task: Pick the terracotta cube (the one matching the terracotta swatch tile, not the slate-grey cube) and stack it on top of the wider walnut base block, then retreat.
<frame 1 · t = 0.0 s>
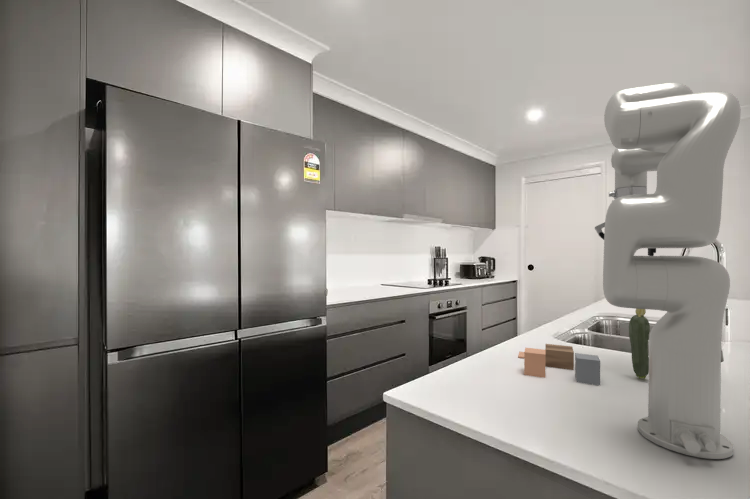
hand: (629, 255, 104), 31 cm above the counter, fingers open, 9 cm apart
terracotta cube: (534, 373, 97), on the counter
slate cube: (587, 380, 92), on the counter
swatch tile: (529, 356, 112), on the counter
vegetable: (638, 379, 93), on the counter
base block: (558, 365, 105), on the counter
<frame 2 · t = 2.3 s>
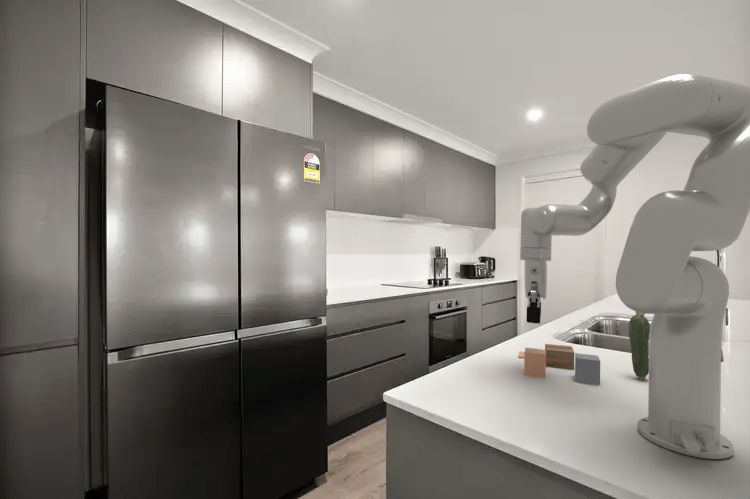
hand: (533, 319, 98), 14 cm above the counter, fingers open, 9 cm apart
nothing on the counter moved.
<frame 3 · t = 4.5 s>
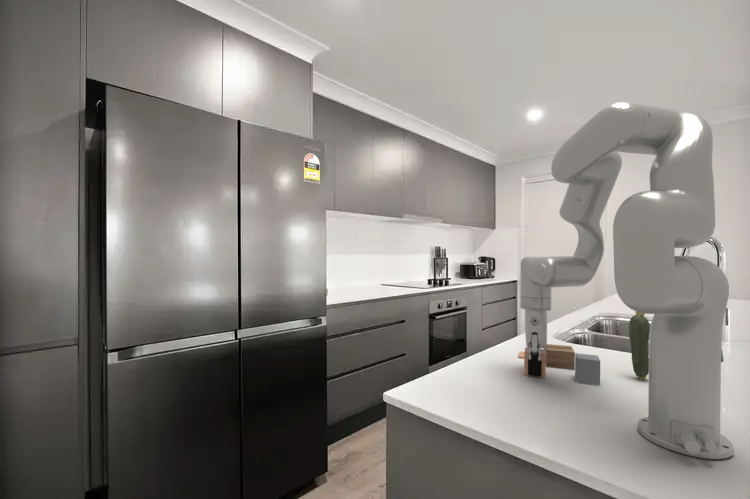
hand: (534, 371, 97), 0 cm above the counter, fingers closed on terracotta cube, 5 cm apart
terracotta cube: (534, 373, 97), on the counter, touching gripper
everything else where it was.
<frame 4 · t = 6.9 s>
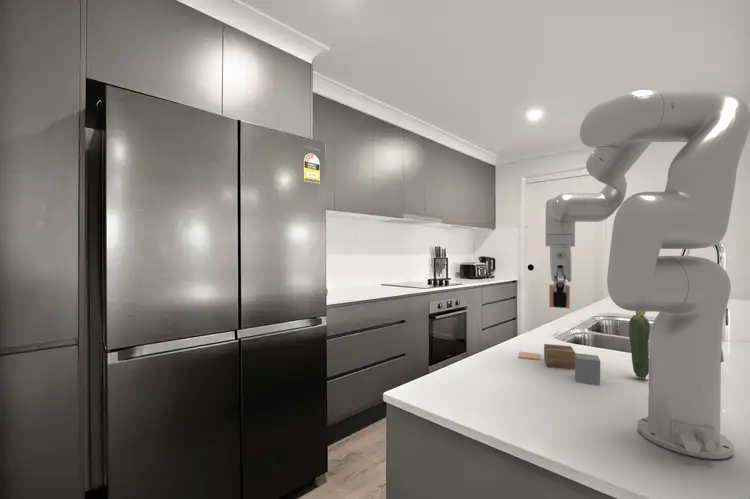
hand: (559, 304, 105), 17 cm above the counter, fingers closed on terracotta cube, 5 cm apart
terracotta cube: (559, 306, 105), point 17 cm above the counter, touching gripper
everything else where it was.
when the fingers open (7 cm above the counter, at t = 9.5 s): terracotta cube drops 1 cm, resting on base block.
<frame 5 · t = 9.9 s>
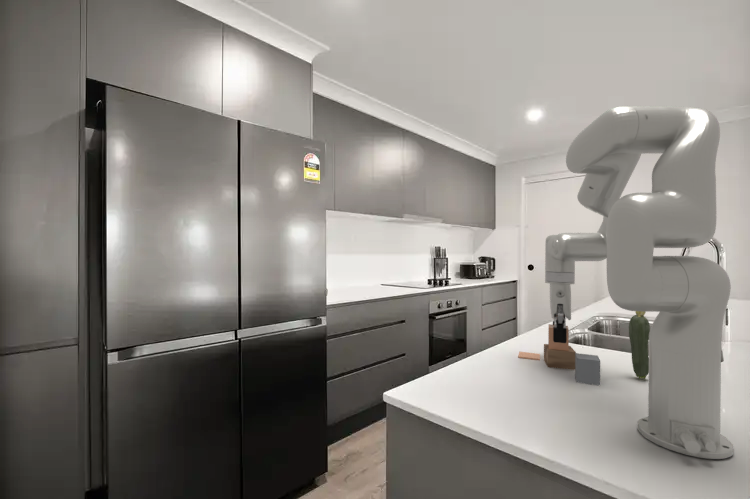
hand: (559, 338, 105), 7 cm above the counter, fingers open, 9 cm apart
terracotta cube: (558, 347, 105), point 5 cm above the counter, touching base block
base block: (559, 365, 105), on the counter, touching terracotta cube
everything else where it was.
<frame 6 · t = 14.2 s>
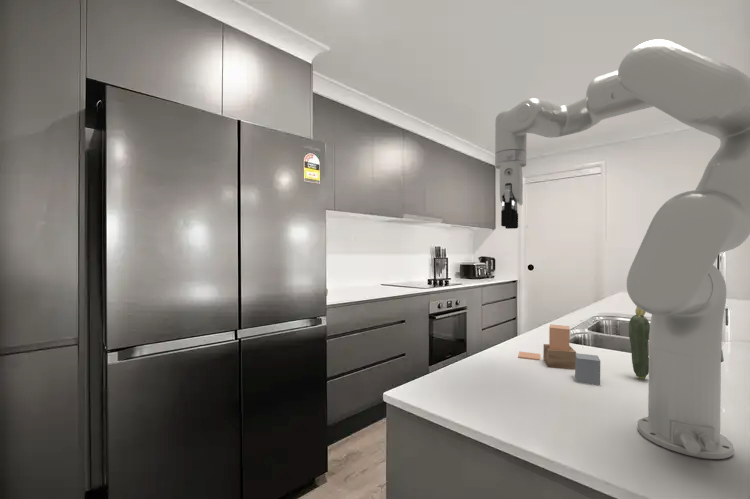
hand: (510, 227, 94), 38 cm above the counter, fingers open, 9 cm apart
nothing on the counter moved.
at the end: terracotta cube 0.0 cm off-centre on the base block, point 5.0 cm above the base block's base; terracotta cube tilted 0°; the gripper is holding nothing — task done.
